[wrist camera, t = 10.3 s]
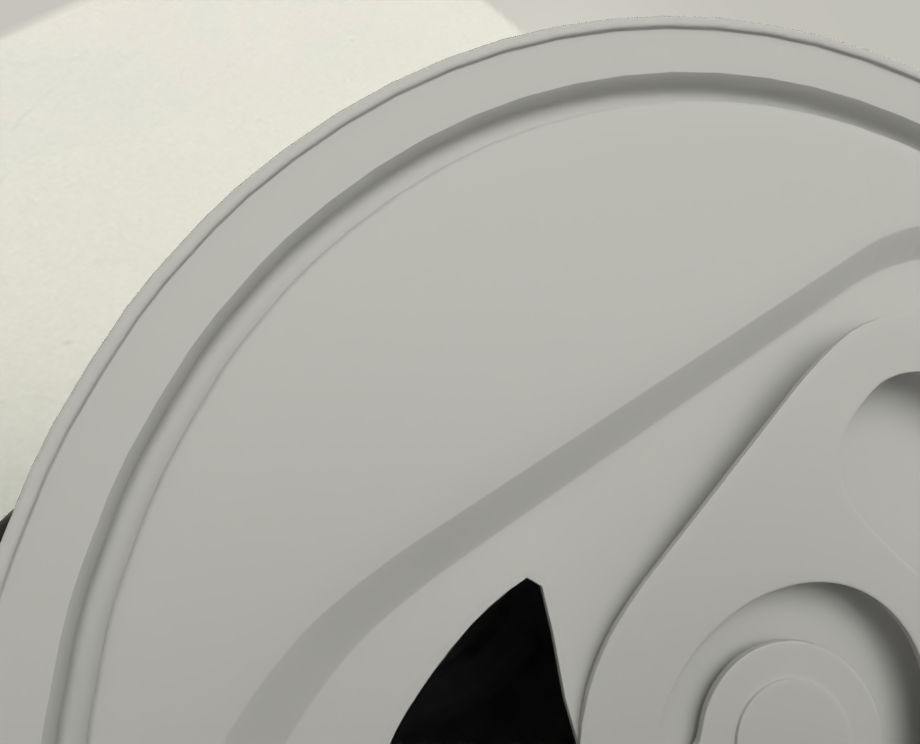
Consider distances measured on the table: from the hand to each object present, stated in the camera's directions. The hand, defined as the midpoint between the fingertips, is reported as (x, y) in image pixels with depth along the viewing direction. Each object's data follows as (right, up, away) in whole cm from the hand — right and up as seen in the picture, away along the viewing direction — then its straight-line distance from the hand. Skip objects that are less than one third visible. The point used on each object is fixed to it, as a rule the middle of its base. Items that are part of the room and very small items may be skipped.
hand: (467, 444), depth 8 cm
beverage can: (-1, -2, +6) cm, 7 cm away
